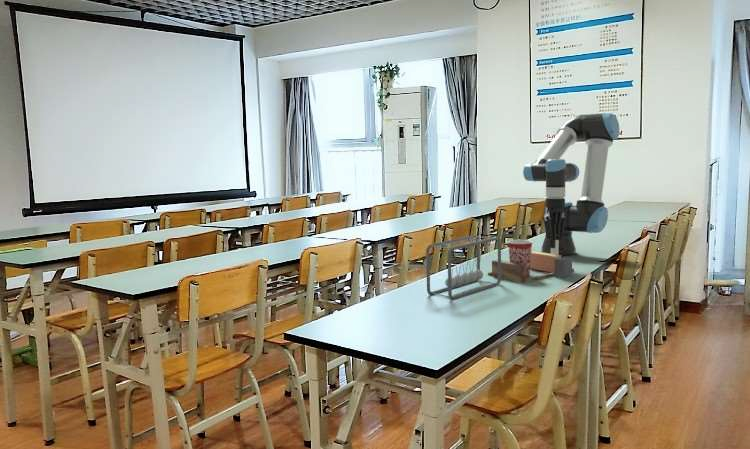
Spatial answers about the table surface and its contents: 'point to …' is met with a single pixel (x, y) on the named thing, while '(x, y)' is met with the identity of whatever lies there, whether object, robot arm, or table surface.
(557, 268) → the lock block
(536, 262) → the block
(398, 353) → the table surface
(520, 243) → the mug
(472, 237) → the newton's cradle
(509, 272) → the clamp bed
